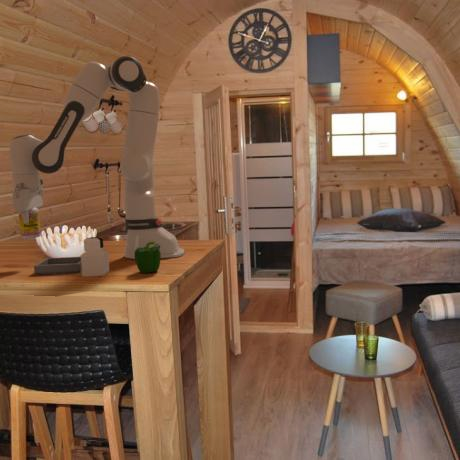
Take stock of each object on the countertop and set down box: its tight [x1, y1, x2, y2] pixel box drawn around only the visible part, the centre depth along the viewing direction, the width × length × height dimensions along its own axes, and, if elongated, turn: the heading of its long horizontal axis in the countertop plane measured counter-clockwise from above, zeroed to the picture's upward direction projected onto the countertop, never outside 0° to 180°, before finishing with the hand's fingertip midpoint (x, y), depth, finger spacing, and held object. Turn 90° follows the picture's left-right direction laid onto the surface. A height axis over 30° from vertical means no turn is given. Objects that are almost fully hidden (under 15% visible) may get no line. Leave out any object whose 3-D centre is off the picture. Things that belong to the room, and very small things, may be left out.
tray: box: [33, 256, 82, 276], centre depth 188 cm, size 15×13×3 cm
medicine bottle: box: [80, 236, 110, 278], centre depth 178 cm, size 7×7×12 cm
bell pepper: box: [134, 241, 162, 274], centre depth 178 cm, size 8×8×10 cm
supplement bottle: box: [17, 201, 42, 240], centre depth 194 cm, size 7×7×13 cm
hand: (31, 221), depth 194 cm, fingers closed on supplement bottle, 7 cm apart
